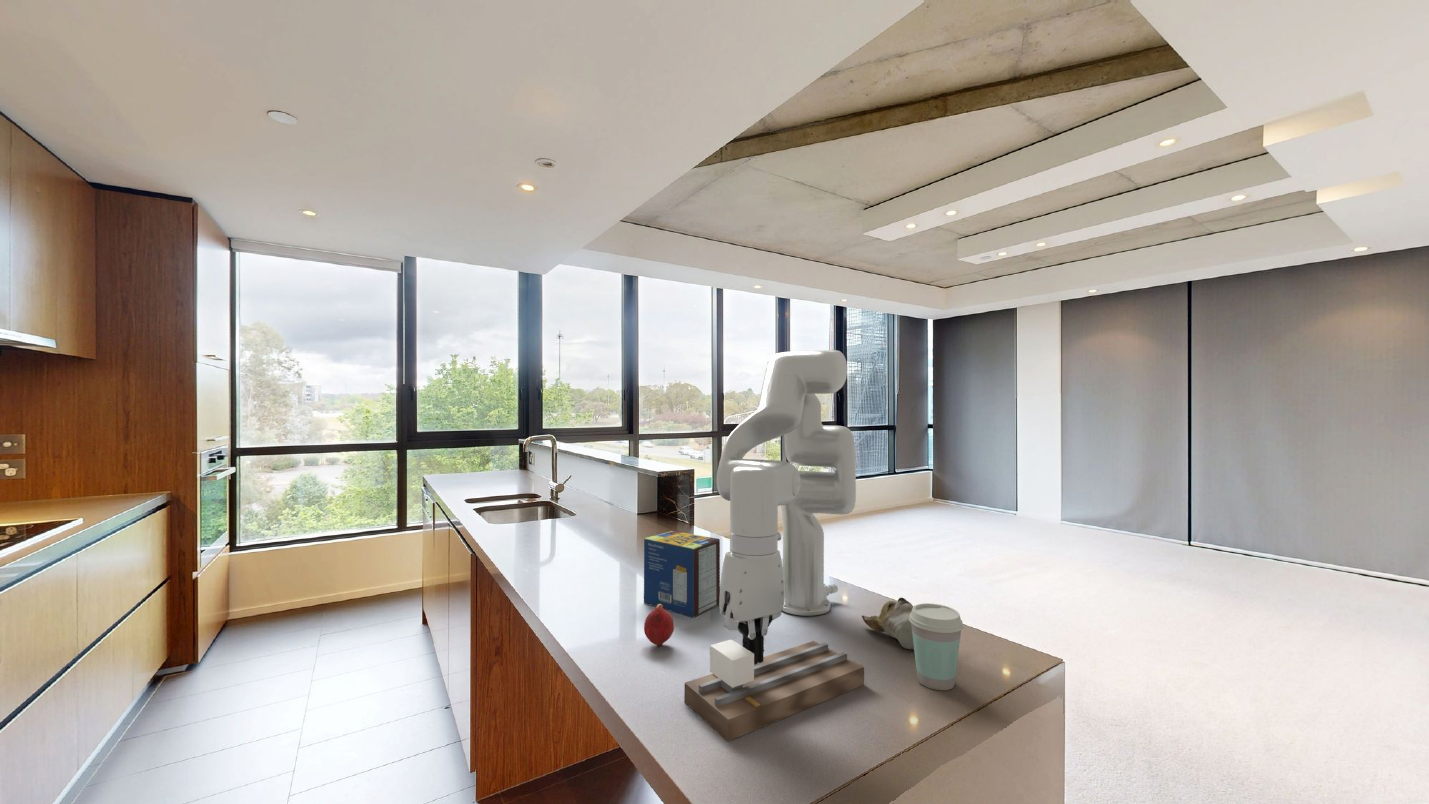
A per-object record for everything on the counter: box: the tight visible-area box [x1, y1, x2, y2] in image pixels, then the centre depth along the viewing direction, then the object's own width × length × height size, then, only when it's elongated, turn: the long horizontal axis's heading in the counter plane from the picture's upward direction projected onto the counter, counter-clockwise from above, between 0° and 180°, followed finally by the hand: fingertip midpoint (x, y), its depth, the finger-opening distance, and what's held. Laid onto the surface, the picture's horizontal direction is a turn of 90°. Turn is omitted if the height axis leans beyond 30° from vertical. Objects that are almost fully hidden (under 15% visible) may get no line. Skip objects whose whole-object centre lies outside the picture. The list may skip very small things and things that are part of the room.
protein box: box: [643, 530, 721, 619], centre depth 128 cm, size 10×15×16 cm
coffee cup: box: [909, 602, 964, 691], centre depth 92 cm, size 8×9×12 cm
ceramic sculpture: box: [861, 597, 914, 651], centre depth 109 cm, size 11×9×15 cm
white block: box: [709, 639, 754, 692], centre depth 83 cm, size 4×6×6 cm, turn 34°
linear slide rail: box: [683, 640, 865, 742], centre depth 88 cm, size 28×12×4 cm, turn 124°
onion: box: [643, 604, 675, 647], centre depth 105 cm, size 6×6×8 cm
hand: (753, 659), depth 85 cm, fingers closed
